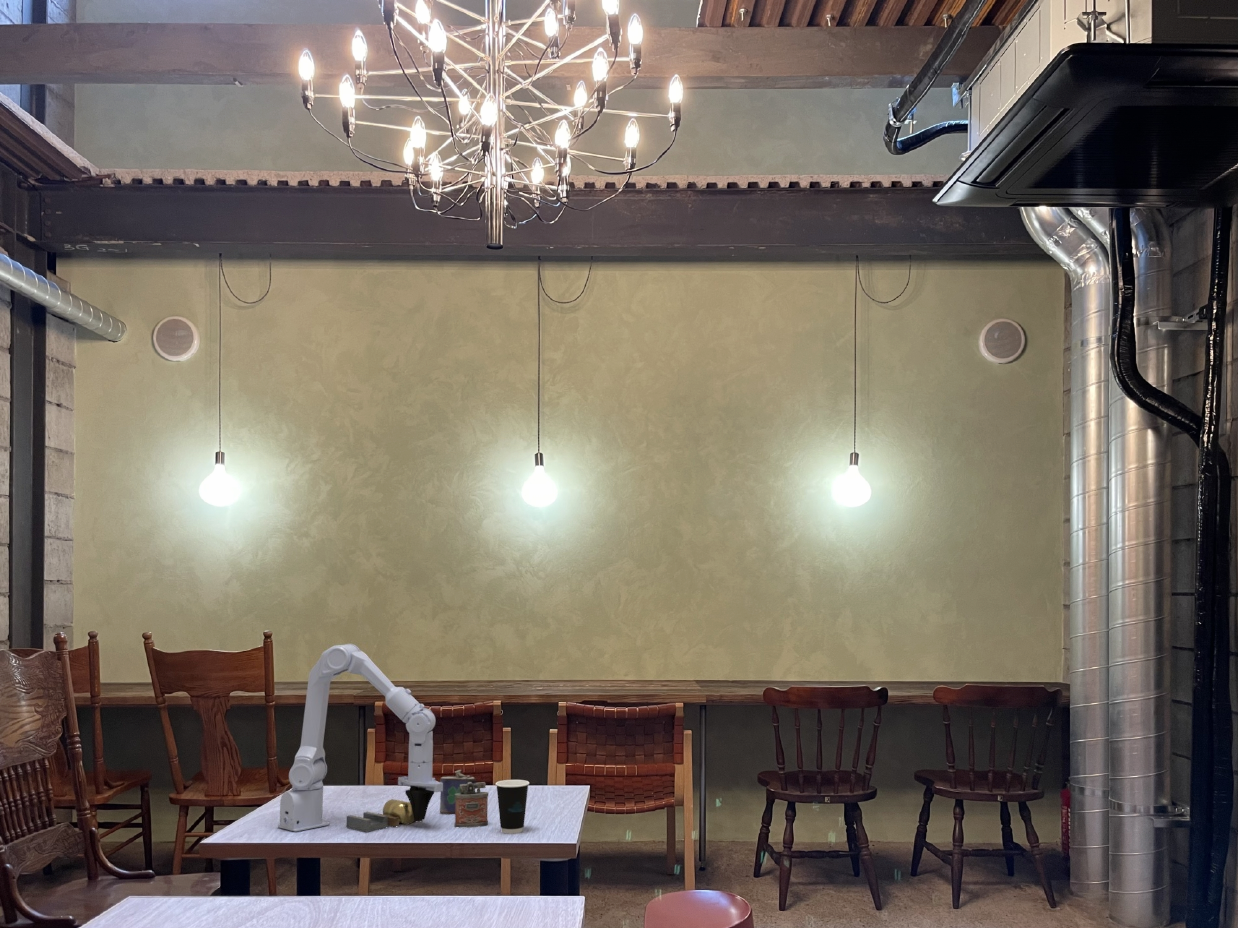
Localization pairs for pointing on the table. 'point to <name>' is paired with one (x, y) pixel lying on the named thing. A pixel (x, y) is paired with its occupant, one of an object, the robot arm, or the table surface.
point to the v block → (367, 822)
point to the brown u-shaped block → (394, 821)
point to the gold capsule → (399, 810)
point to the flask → (452, 791)
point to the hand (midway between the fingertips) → (419, 819)
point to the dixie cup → (512, 804)
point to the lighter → (471, 806)
